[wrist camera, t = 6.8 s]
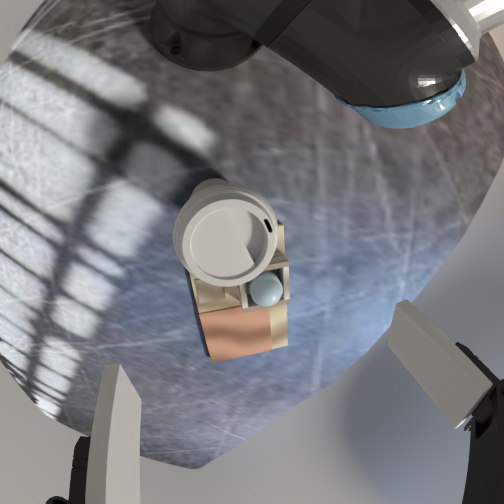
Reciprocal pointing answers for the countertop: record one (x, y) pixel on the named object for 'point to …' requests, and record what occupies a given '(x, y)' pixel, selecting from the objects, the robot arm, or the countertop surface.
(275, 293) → the dome
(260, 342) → the board
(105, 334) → the countertop surface
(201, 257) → the coffee cup
